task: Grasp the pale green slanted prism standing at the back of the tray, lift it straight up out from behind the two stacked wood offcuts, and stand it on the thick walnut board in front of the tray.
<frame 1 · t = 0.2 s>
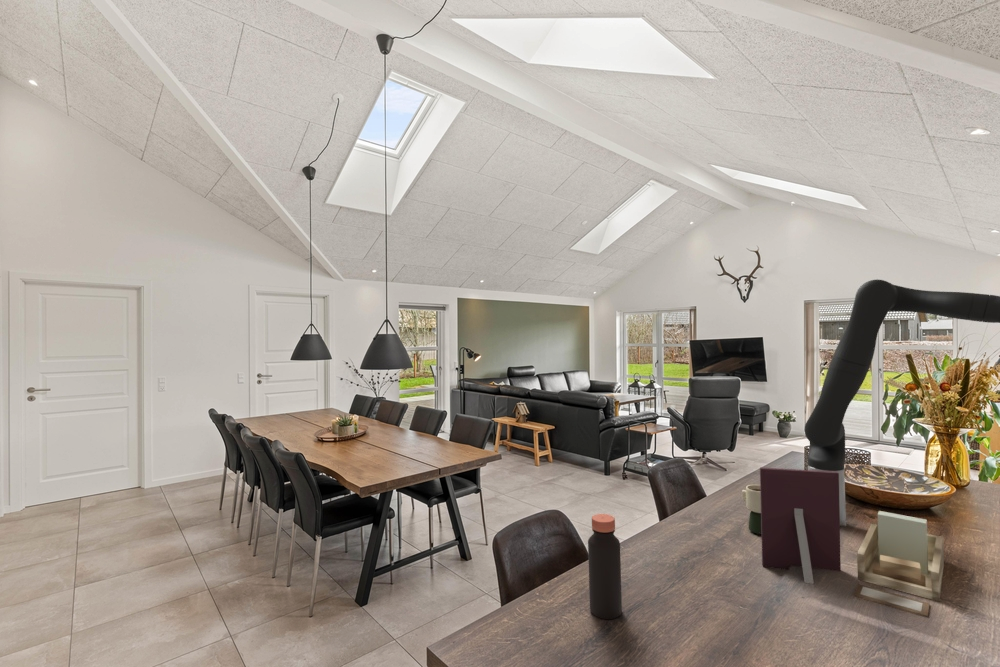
pale green slanted prism: (903, 566, 116), point 1 cm above the table, touching tray
character mug: (760, 532, 141), on the table
offcut upper: (900, 572, 109), point 4 cm above the table, touching offcut lower
picture frame: (805, 579, 114), on the table
board: (891, 605, 102), on the table
bottle: (605, 611, 103), on the table
offcut lower: (898, 582, 109), point 1 cm above the table, touching offcut upper, tray
tray: (902, 575, 115), on the table
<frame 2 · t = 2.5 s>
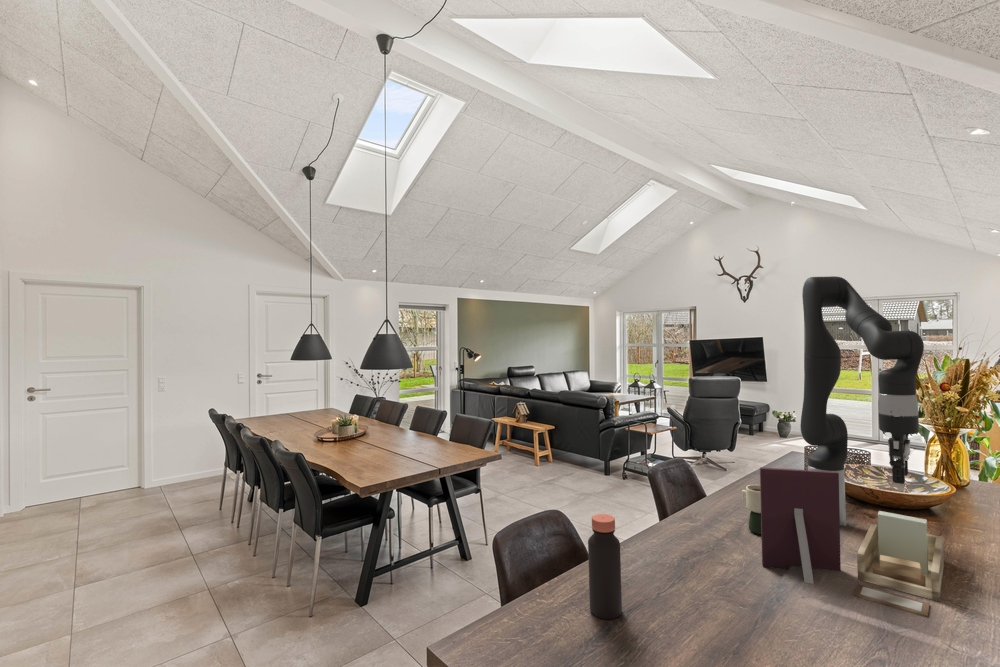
hand: (900, 478, 116), 22 cm above the table, fingers open, 8 cm apart
nothing on the table moved.
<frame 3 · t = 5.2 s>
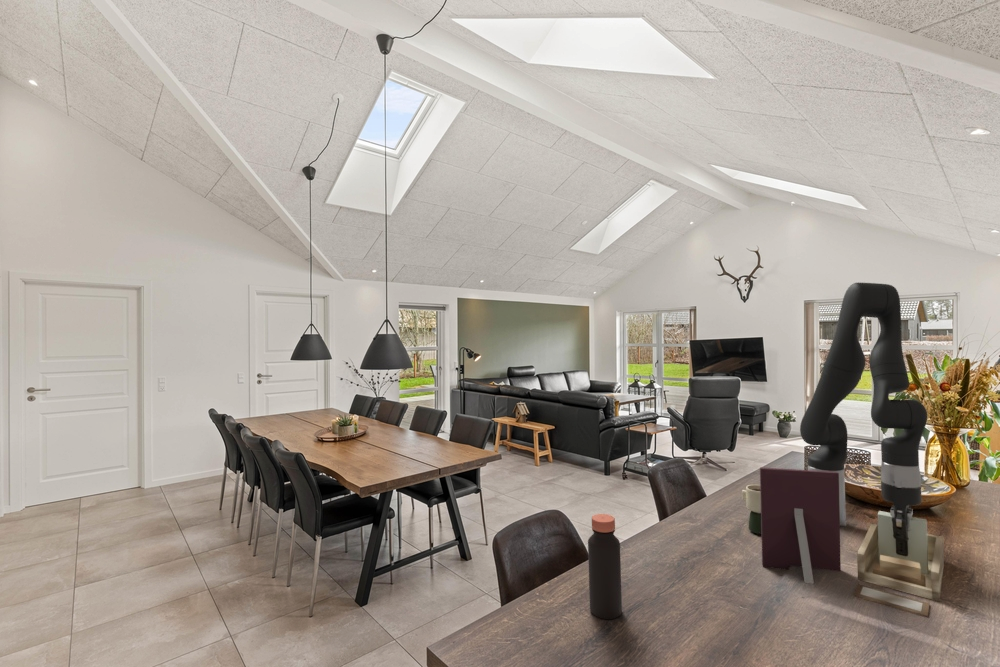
hand: (902, 552, 116), 5 cm above the table, fingers closed on pale green slanted prism, 3 cm apart
pale green slanted prism: (903, 566, 116), point 1 cm above the table, touching gripper, tray
everything else where it was.
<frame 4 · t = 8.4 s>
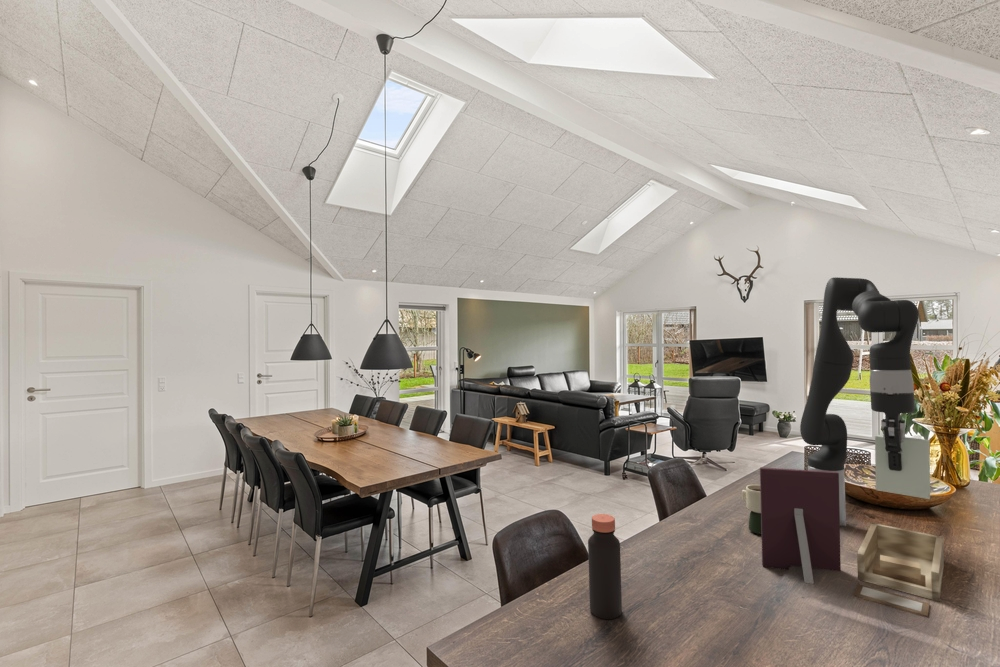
hand: (896, 468, 105), 28 cm above the table, fingers closed on pale green slanted prism, 3 cm apart
pale green slanted prism: (902, 492, 105), point 23 cm above the table, touching gripper
everything else where it was.
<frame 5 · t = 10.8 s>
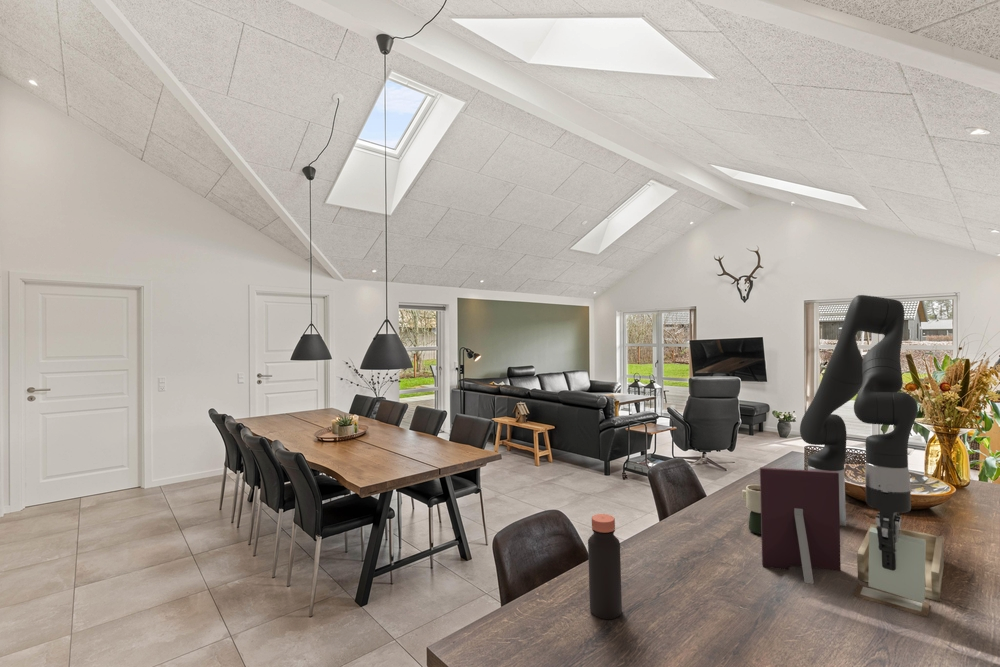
hand: (889, 565, 102), 9 cm above the table, fingers closed on pale green slanted prism, 3 cm apart
pale green slanted prism: (896, 591, 101), point 3 cm above the table, touching gripper
everything else where it was.
when the fingers open (6 cm above the table, at t = 12.0 s): pale green slanted prism stays where it is, resting on board.
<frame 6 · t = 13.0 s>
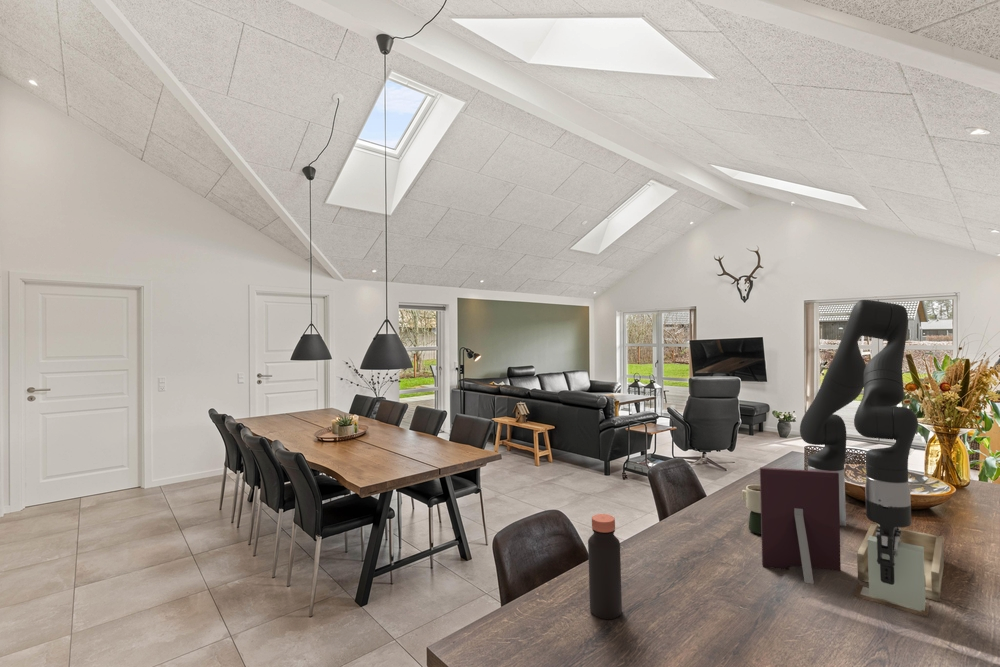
hand: (890, 575, 102), 6 cm above the table, fingers open, 8 cm apart
pale green slanted prism: (896, 599, 101), point 2 cm above the table, touching board
everything else where it was.
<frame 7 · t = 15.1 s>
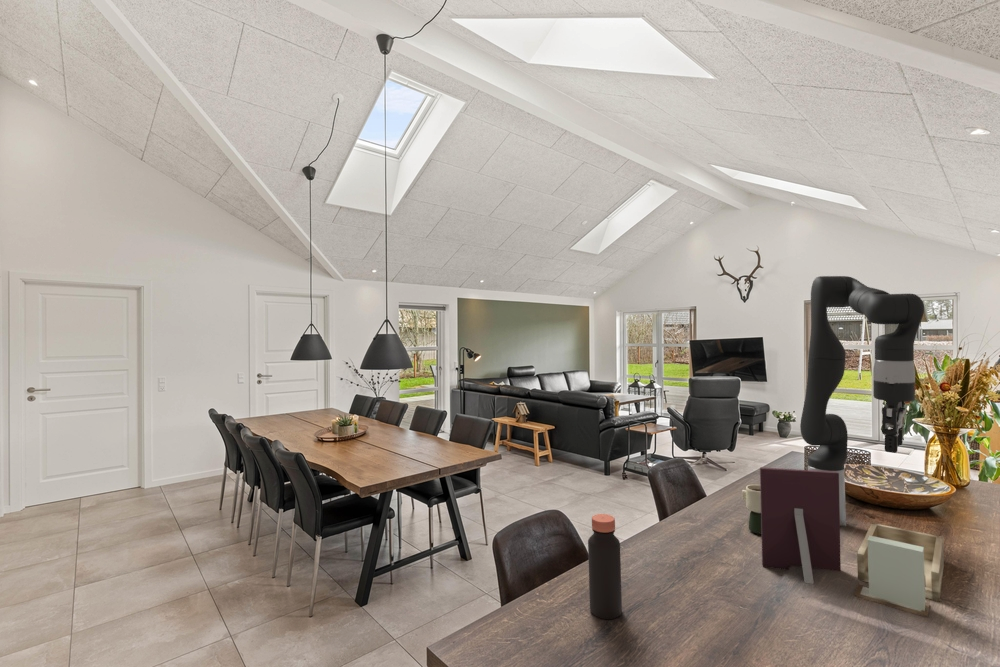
hand: (893, 448, 112), 31 cm above the table, fingers open, 8 cm apart
nothing on the table moved.
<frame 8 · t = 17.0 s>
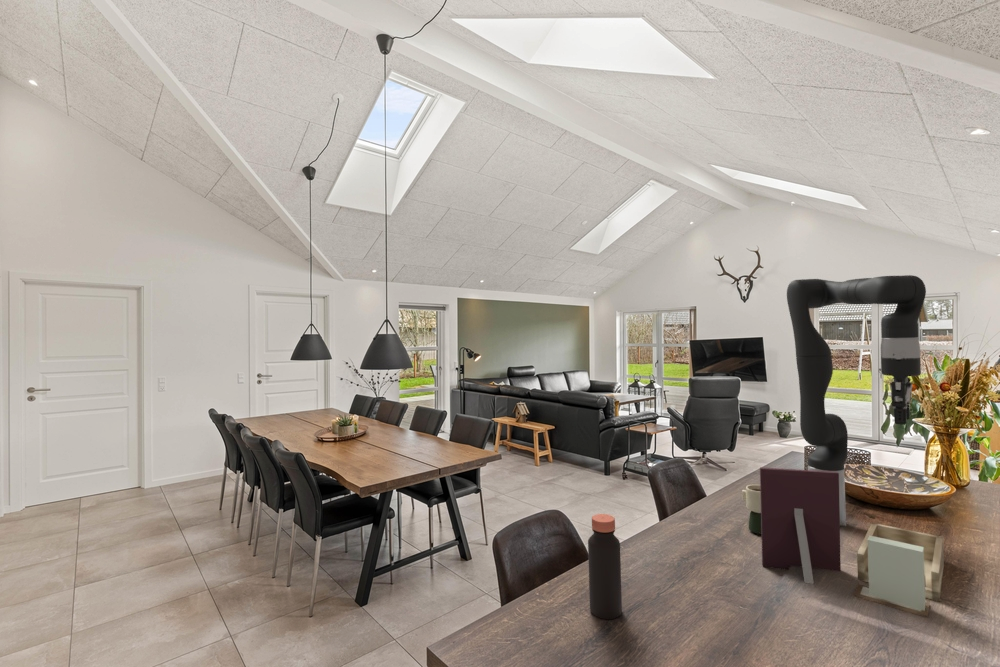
hand: (902, 421, 118), 36 cm above the table, fingers open, 8 cm apart
nothing on the table moved.
at the end: pale green slanted prism inside the target area on the board (1.0 cm from its centre), point 1.6 cm above the board's base; pale green slanted prism tilted 0°; the gripper is holding nothing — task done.
